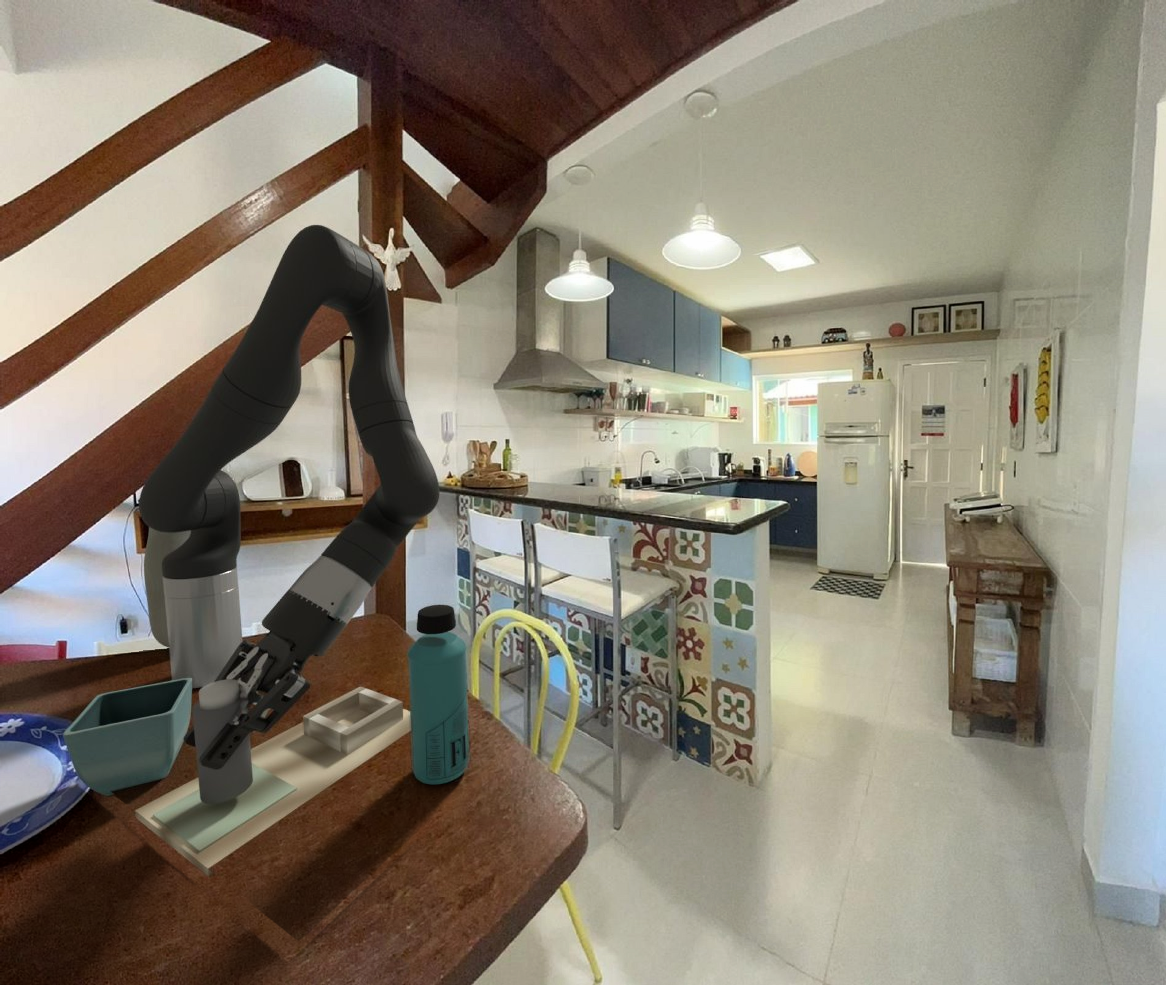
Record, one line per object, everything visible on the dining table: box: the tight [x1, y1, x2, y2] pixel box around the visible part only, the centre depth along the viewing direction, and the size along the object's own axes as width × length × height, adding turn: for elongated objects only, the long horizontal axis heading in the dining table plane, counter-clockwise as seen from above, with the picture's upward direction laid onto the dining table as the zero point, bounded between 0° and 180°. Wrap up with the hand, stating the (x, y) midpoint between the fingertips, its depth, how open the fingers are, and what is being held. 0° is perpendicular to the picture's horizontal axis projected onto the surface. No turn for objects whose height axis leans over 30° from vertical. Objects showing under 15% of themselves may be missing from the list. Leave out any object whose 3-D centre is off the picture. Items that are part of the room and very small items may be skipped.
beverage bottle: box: [407, 604, 471, 785], centre depth 54 cm, size 6×7×20 cm
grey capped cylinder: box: [191, 679, 253, 804], centre depth 49 cm, size 4×4×11 cm
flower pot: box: [62, 678, 193, 797], centre depth 54 cm, size 9×9×9 cm
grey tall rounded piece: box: [143, 527, 191, 648], centre depth 87 cm, size 10×10×28 cm
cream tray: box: [134, 686, 411, 877], centre depth 57 cm, size 14×26×3 cm, turn 152°
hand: (200, 754), depth 48 cm, fingers open, 4 cm apart
